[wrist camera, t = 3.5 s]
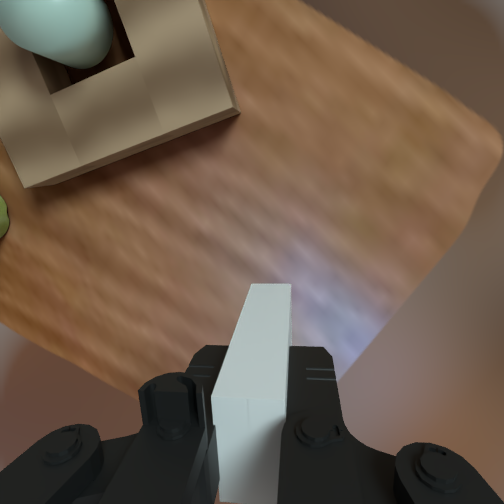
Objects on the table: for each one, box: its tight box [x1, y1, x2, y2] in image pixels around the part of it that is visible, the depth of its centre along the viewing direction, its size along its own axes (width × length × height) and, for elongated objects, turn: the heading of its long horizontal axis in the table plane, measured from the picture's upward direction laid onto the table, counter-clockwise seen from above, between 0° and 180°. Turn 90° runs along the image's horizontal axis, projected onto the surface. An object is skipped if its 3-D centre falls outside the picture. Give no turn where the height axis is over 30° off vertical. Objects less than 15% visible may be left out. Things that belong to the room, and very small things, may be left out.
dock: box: [0, 0, 241, 188], centre depth 29 cm, size 20×20×4 cm
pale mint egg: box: [0, 0, 113, 69], centre depth 26 cm, size 6×6×5 cm
